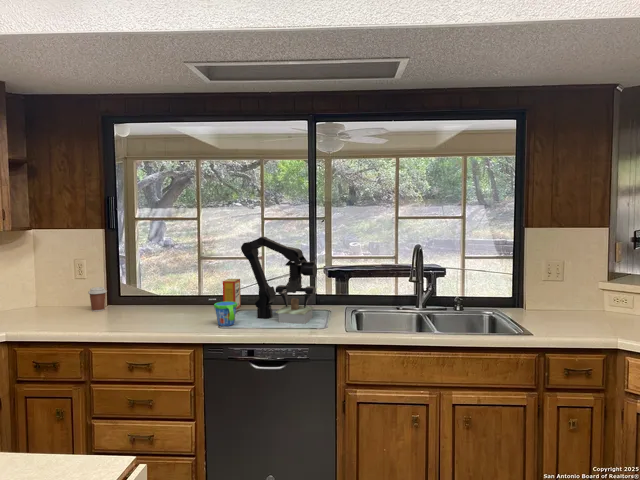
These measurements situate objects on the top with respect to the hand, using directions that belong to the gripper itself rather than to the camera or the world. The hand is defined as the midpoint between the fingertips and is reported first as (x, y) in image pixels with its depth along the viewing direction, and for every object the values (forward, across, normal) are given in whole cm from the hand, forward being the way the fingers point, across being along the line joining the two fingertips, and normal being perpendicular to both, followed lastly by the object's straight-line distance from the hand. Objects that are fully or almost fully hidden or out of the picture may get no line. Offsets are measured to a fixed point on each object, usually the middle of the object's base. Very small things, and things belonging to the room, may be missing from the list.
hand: (295, 307), depth 226 cm
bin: (+7, 0, 0) cm, 7 cm away
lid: (+2, 0, 0) cm, 2 cm away
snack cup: (+7, -30, -14) cm, 34 cm away
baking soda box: (+7, -43, +20) cm, 48 cm away
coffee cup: (+7, -112, -1) cm, 112 cm away
